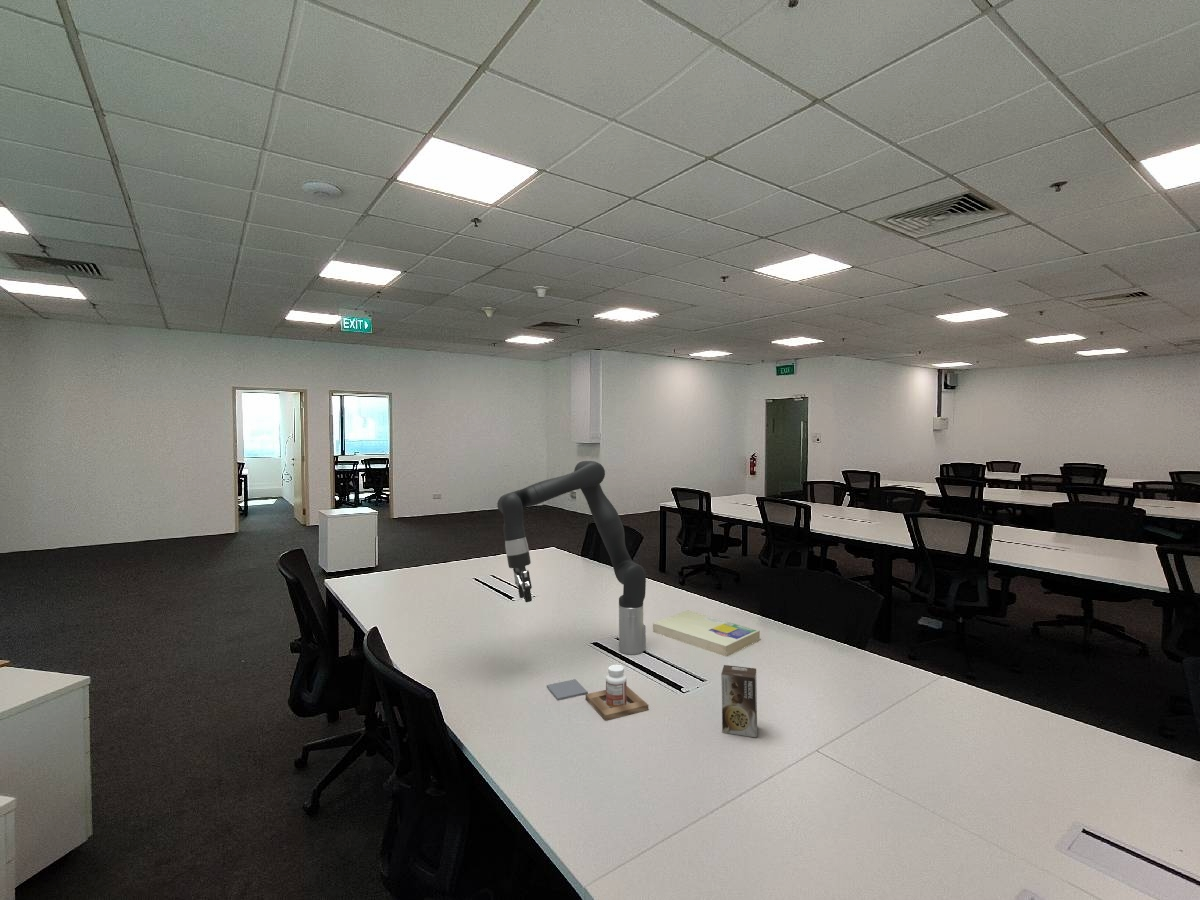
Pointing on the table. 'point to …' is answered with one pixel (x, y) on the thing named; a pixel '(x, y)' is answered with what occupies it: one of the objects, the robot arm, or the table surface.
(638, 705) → the board
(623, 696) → the pill bottle
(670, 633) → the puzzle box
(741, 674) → the coffee box
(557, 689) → the pad
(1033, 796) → the table surface
